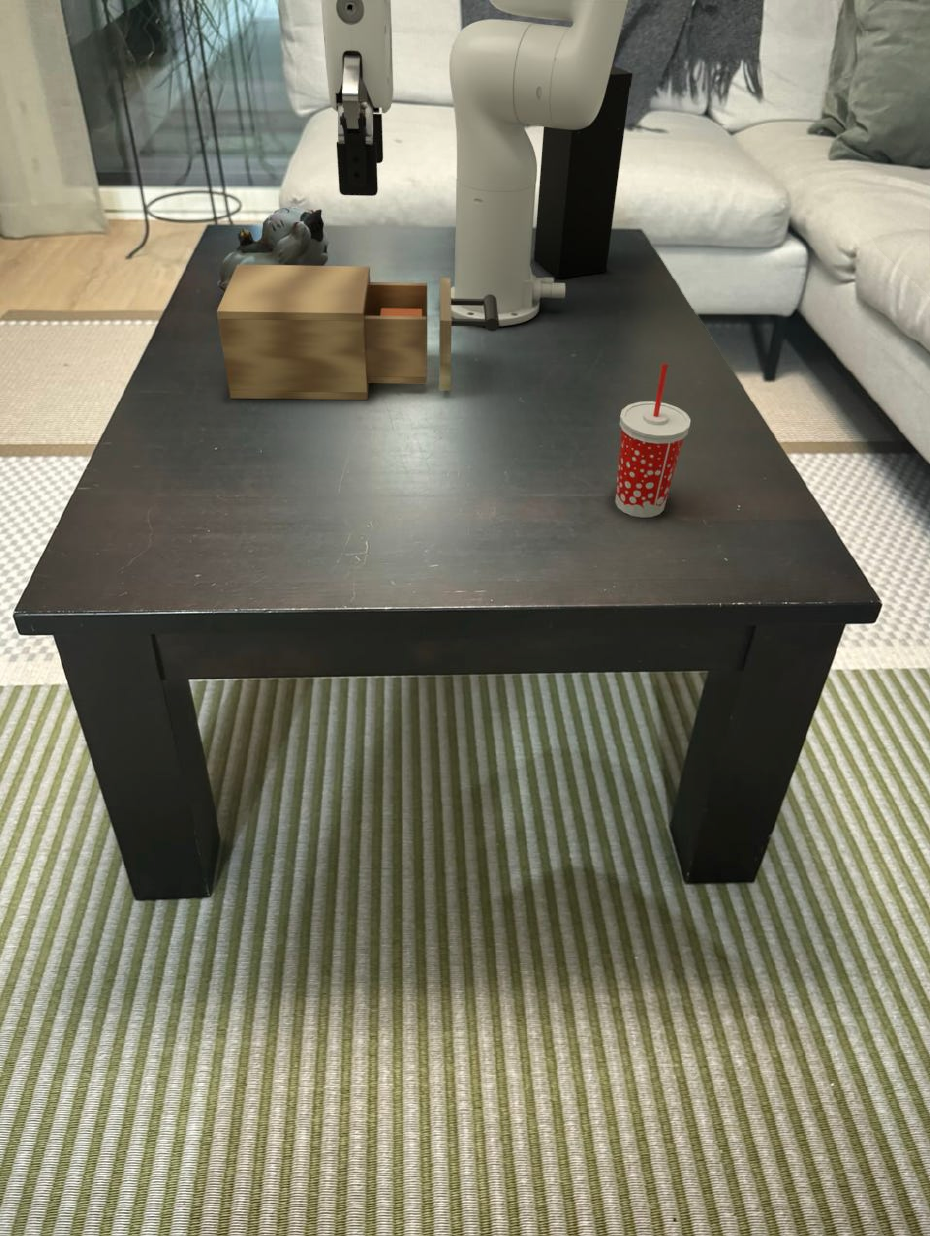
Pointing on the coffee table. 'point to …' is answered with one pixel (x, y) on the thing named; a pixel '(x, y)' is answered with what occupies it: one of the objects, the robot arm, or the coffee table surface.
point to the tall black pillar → (581, 187)
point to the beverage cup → (649, 453)
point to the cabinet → (295, 332)
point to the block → (400, 312)
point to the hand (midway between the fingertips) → (362, 177)
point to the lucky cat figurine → (281, 243)
